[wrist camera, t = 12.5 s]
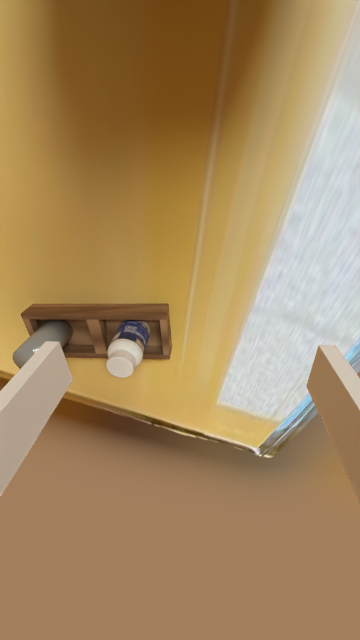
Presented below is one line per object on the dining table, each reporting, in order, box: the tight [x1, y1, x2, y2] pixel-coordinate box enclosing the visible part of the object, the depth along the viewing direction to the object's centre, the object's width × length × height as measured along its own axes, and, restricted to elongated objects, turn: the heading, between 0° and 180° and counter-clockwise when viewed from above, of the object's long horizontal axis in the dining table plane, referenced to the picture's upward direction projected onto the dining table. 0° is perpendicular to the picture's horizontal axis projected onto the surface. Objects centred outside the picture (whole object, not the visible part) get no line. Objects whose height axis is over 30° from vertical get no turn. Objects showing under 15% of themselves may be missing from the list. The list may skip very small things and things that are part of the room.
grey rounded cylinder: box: [13, 319, 73, 369], centre depth 41 cm, size 5×5×9 cm
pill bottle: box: [106, 320, 150, 378], centre depth 40 cm, size 5×5×10 cm
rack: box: [21, 304, 172, 359], centre depth 44 cm, size 9×24×4 cm, turn 93°
